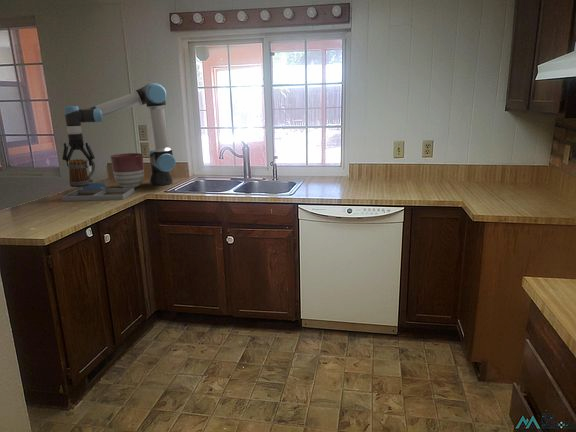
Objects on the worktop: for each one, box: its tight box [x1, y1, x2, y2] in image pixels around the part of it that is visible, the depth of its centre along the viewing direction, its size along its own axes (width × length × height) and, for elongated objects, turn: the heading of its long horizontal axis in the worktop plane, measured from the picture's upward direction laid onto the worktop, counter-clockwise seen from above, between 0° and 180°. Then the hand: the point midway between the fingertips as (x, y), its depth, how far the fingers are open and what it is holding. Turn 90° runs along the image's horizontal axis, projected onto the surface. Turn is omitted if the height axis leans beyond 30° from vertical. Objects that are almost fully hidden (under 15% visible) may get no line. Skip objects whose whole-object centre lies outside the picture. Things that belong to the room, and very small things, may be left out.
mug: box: [68, 158, 96, 188], centre depth 252 cm, size 16×11×15 cm
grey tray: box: [60, 182, 135, 202], centre depth 255 cm, size 35×22×6 cm, turn 92°
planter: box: [110, 152, 145, 189], centre depth 275 cm, size 20×20×21 cm
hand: (80, 171), depth 251 cm, fingers closed on mug, 10 cm apart
